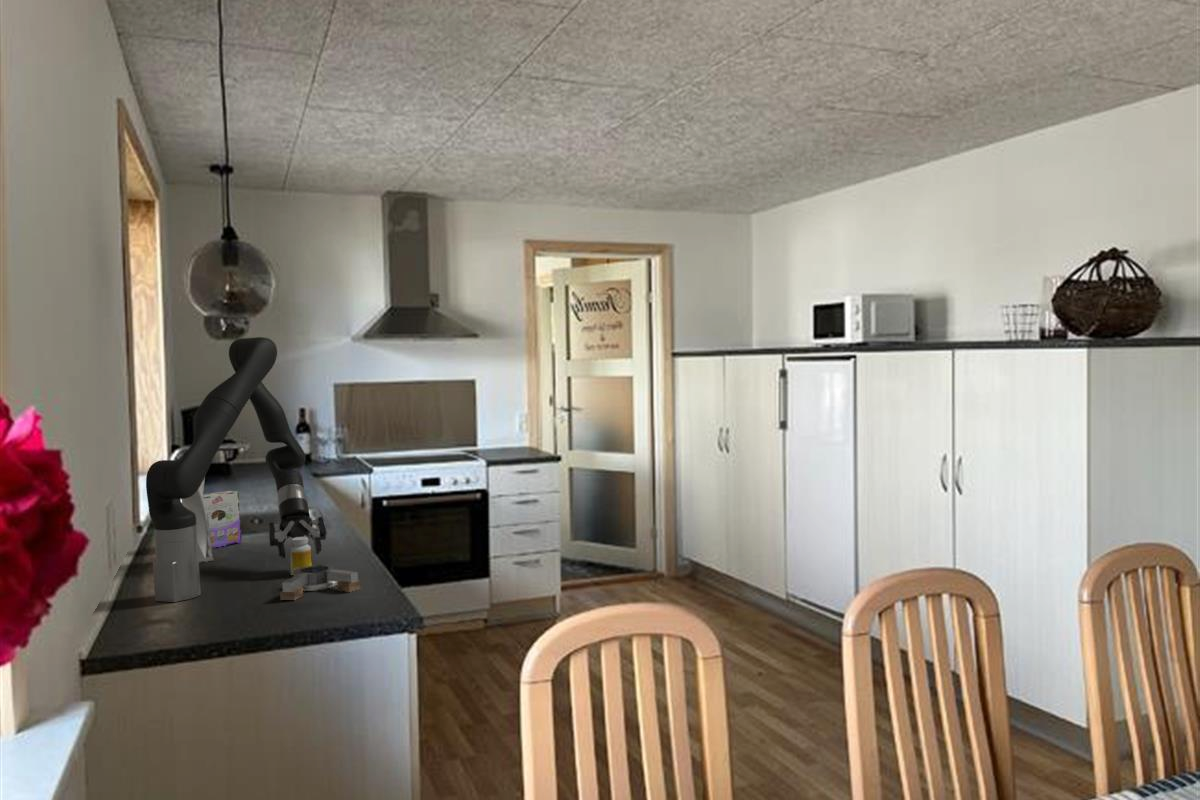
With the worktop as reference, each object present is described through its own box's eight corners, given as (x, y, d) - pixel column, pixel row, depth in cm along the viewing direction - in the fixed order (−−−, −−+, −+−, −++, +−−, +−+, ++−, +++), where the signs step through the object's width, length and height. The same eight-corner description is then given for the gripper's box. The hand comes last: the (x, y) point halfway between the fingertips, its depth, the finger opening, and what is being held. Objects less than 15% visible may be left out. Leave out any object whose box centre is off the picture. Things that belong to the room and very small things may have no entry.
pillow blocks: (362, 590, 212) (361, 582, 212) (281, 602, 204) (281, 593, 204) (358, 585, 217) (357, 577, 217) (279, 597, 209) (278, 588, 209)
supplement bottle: (287, 575, 231) (285, 538, 231) (306, 570, 235) (303, 535, 234) (297, 578, 227) (295, 541, 227) (316, 573, 231) (314, 537, 231)
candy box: (232, 541, 279) (229, 489, 278) (242, 543, 275) (239, 491, 274) (189, 549, 268) (186, 496, 267) (198, 552, 264) (195, 497, 263)
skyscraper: (213, 562, 249) (207, 464, 248) (182, 566, 246) (175, 466, 244) (212, 556, 257) (207, 461, 255) (182, 560, 253) (176, 463, 252)
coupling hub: (320, 593, 211) (319, 576, 211) (279, 590, 215) (278, 574, 215) (349, 580, 223) (349, 564, 223) (310, 578, 227) (309, 562, 226)
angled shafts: (326, 594, 202) (326, 585, 202) (277, 591, 206) (277, 582, 206) (361, 579, 215) (360, 570, 215) (314, 576, 219) (314, 568, 219)
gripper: (265, 499, 234) (272, 549, 224) (321, 493, 240) (330, 542, 231) (264, 516, 239) (271, 566, 229) (319, 510, 245) (328, 558, 236)
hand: (301, 554), depth 230 cm, fingers open, 8 cm apart
